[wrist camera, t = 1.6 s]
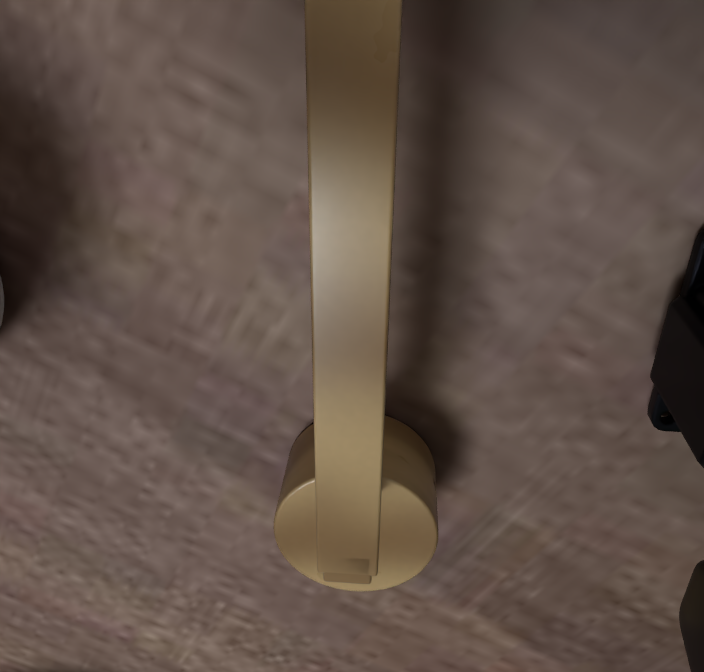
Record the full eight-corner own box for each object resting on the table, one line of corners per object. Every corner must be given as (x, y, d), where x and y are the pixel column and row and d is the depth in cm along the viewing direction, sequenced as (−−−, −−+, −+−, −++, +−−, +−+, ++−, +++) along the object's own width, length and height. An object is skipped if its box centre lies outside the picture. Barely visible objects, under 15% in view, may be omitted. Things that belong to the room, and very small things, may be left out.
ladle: (262, -85, 15) (180, -106, 10) (486, -83, 15) (531, -103, 9) (290, 519, 24) (257, 680, 19) (429, 527, 24) (436, 693, 19)
